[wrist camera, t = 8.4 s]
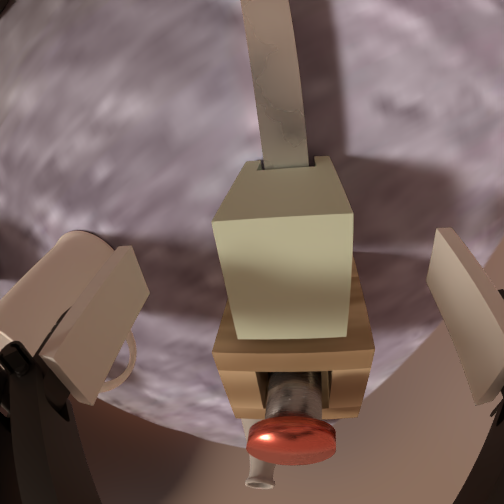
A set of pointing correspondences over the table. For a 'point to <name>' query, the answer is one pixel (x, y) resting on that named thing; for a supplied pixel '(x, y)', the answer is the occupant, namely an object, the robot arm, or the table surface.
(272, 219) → the block
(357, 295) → the wooden boxy piece
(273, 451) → the plunger
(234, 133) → the table surface
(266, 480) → the flask
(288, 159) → the rail
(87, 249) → the mug
